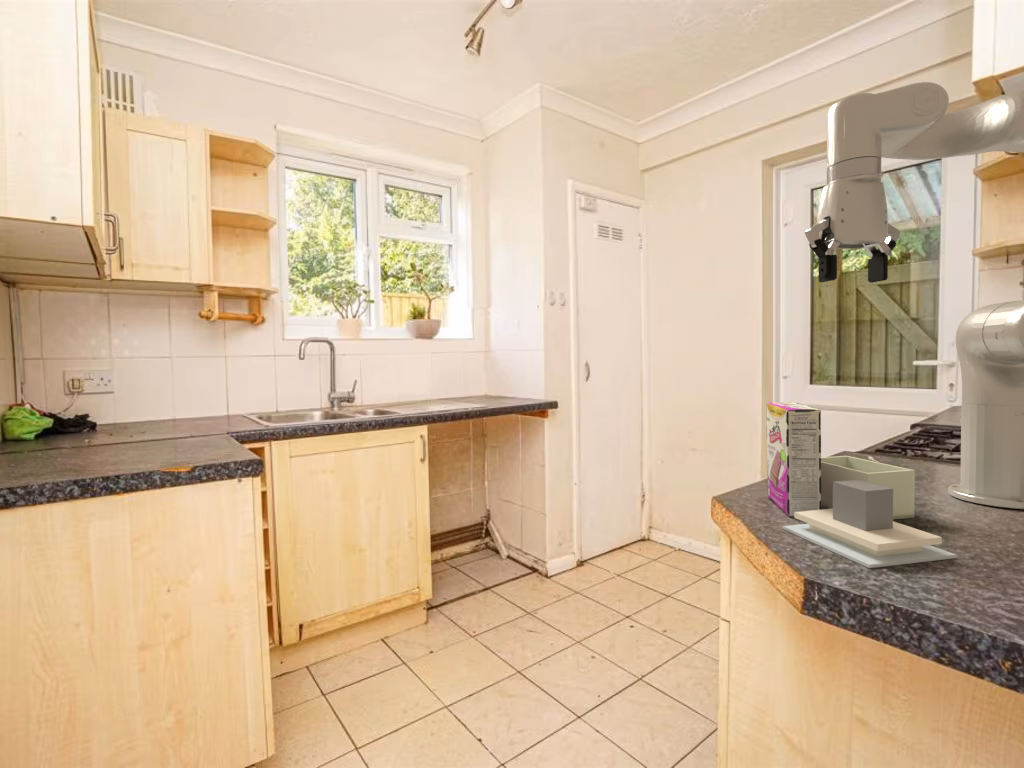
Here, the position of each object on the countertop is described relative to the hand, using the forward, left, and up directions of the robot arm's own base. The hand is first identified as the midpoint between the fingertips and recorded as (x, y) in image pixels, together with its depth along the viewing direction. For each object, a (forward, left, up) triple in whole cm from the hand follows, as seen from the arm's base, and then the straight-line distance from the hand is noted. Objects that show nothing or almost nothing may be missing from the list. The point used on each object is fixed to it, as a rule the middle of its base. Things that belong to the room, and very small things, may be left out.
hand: (852, 281), depth 86 cm
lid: (+16, +18, -36) cm, 44 cm away
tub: (+5, +6, -36) cm, 37 cm away
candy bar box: (+14, +3, -36) cm, 39 cm away
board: (+16, +19, -36) cm, 44 cm away
